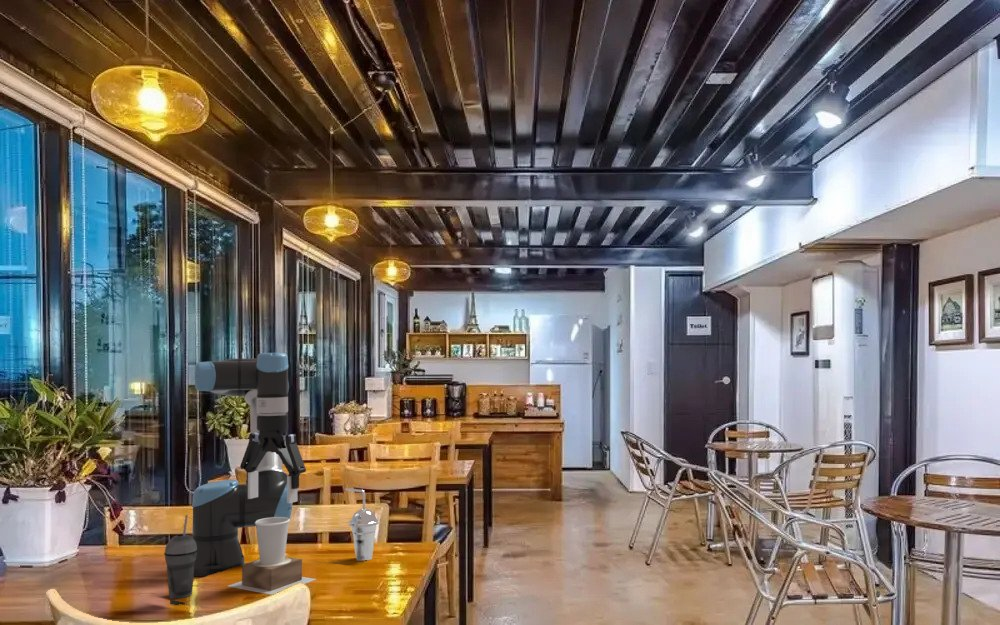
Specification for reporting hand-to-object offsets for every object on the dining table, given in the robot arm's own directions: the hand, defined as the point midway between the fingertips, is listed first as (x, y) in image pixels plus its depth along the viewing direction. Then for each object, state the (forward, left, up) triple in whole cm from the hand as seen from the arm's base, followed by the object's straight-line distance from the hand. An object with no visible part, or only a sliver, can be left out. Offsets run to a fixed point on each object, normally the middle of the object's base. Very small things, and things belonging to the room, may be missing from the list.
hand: (272, 500), depth 185 cm
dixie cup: (0, 0, -15) cm, 15 cm away
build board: (0, 0, -22) cm, 22 cm away
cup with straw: (+2, +32, -22) cm, 39 cm away
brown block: (0, 0, -20) cm, 20 cm away
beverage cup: (-12, -17, -22) cm, 30 cm away
